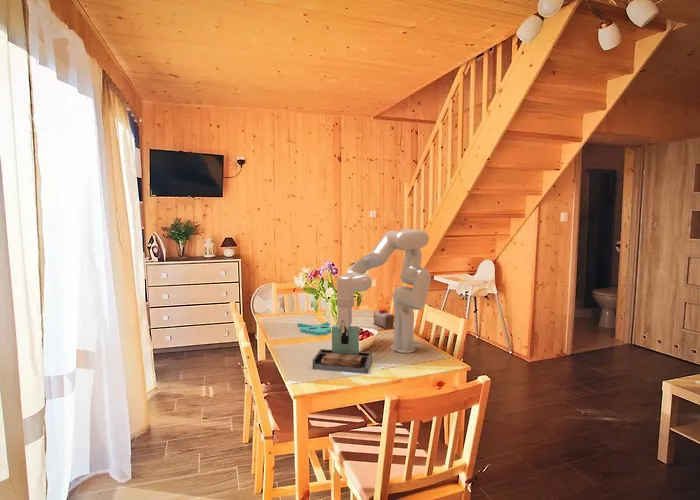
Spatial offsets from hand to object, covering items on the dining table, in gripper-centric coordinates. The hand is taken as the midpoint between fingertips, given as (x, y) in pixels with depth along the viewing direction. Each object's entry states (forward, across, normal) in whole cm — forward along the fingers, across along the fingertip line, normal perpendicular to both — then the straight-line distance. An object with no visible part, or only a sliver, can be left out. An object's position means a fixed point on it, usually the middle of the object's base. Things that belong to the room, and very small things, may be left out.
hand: (345, 342), depth 194 cm
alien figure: (+11, -46, -25) cm, 54 cm away
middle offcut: (+7, +7, -1) cm, 10 cm away
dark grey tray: (+10, +5, 0) cm, 11 cm away
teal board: (+7, 0, 0) cm, 7 cm away
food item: (+11, -62, +11) cm, 64 cm away
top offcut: (+6, +7, 0) cm, 9 cm away
